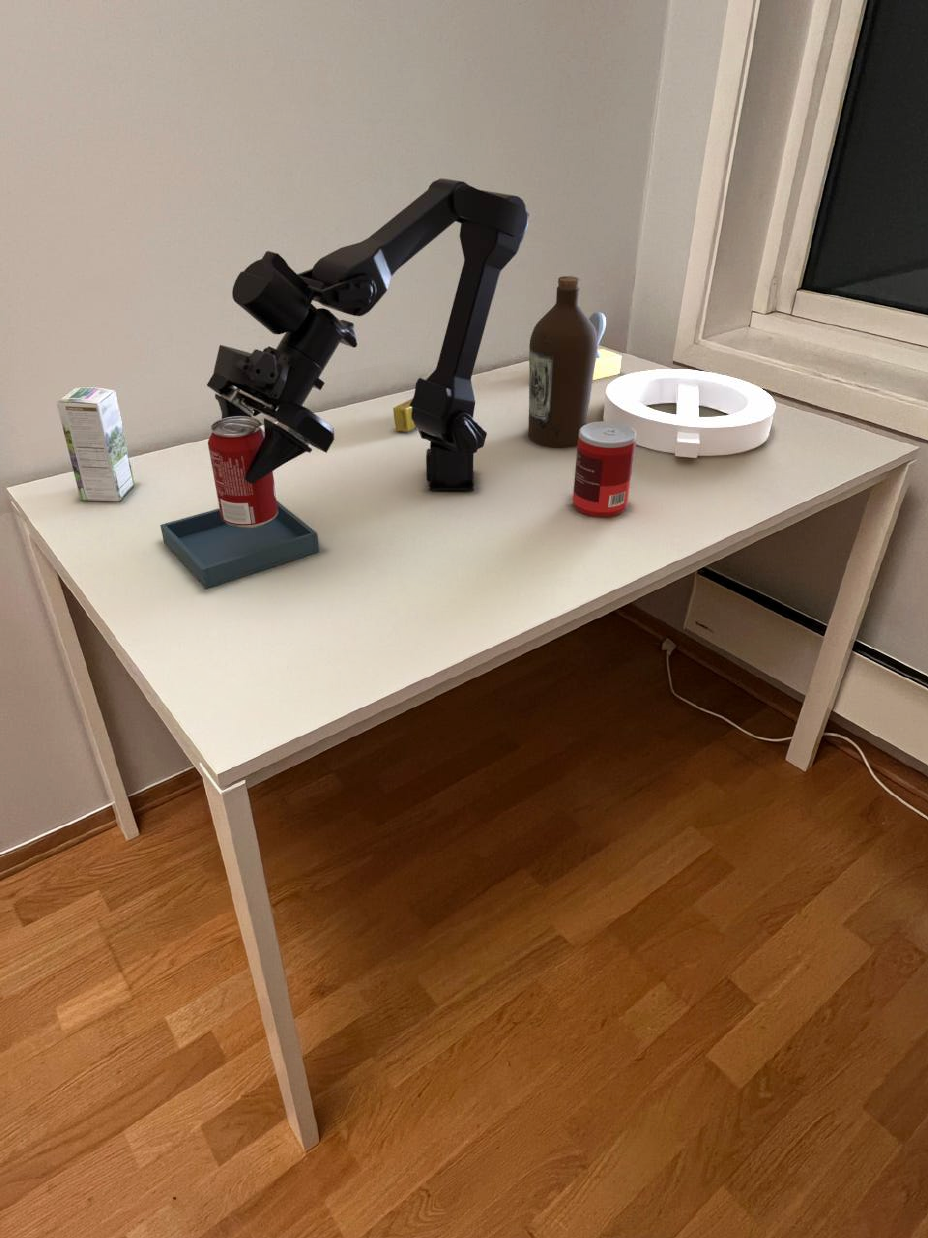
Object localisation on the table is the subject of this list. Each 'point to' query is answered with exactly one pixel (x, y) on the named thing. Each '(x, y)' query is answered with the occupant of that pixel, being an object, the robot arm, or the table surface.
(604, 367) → the rubber stamp
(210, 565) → the tray
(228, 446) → the soda can
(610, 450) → the canned food
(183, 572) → the table surface
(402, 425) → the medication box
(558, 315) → the olive oil
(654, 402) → the ring with crossbar
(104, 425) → the syrup box
